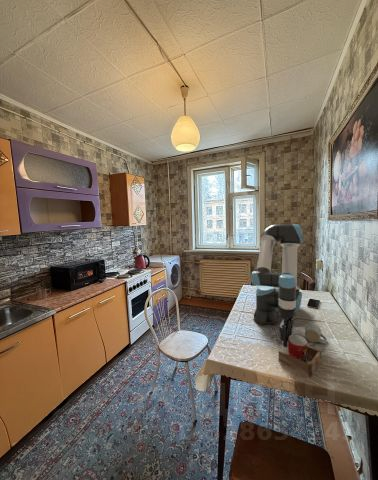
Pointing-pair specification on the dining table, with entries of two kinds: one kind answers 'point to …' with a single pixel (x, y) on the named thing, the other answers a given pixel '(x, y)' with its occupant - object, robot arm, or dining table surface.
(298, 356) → the canned food
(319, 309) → the dining table surface
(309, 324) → the ceramic mug
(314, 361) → the frame
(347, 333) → the dining table surface
